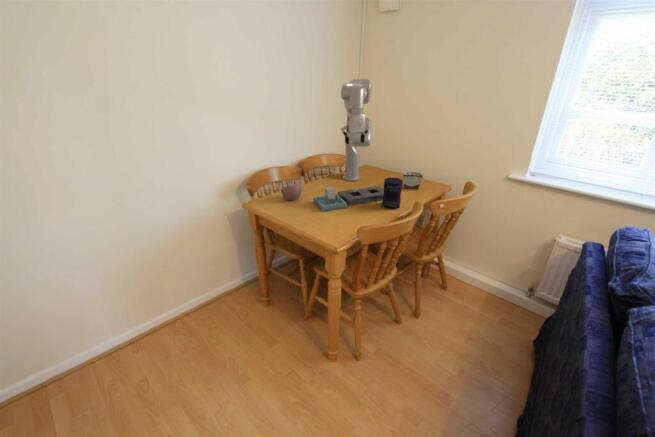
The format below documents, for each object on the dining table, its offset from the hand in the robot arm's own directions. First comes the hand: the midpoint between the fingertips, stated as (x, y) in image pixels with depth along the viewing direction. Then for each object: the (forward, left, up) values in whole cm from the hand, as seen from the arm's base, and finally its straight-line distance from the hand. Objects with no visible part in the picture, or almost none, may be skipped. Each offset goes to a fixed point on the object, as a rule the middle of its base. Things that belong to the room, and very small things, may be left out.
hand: (354, 142), depth 174 cm
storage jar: (+27, +10, -31) cm, 42 cm away
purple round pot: (-3, -38, -31) cm, 49 cm away
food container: (+7, +38, -31) cm, 49 cm away
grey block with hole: (+11, +2, -30) cm, 32 cm away
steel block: (+13, -21, -30) cm, 38 cm away
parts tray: (+13, -21, -30) cm, 39 cm away
